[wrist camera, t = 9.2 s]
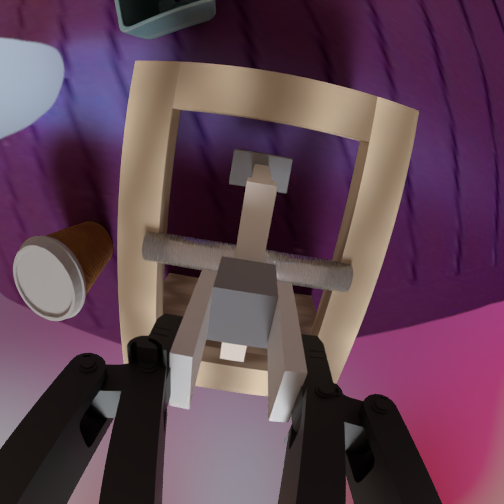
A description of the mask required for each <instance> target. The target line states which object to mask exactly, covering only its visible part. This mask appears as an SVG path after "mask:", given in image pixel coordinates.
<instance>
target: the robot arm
mask: <svg viewBox="0 0 504 504" xmlns="http://www.w3.org/2000/svg"><path fill="white" fill-rule="evenodd" d="M217 272H218V271H212V270H206V269H202V272H201V274H200V277H199V279H198V282H197V284H196V286H195V289H194V291H193V294H192V296H191V299H190V301H189V304H188V306H187V309H186V312H185V314H184V317H182V316H177V315H172V314H167V313H165V314H163V315H162V316H160V317H159V318H158V319H157V320H156V322H155V324H154V326H153V328H152V330H151V332H150V334H149V336H138V337H135V338H133V339H132V340H130V341H129V343H128V344H127V353H128V363H127V364H123V365H106V364H105V361H104V359H103V358H102V357H100V356H99V355H97V354H93V353H83V354H80V355H77V356H76V357H74V358H73V359H72V360H71V361H70V362H69V364H68V365H67V366H66V367H65V368H64V370H63V371H62V372H61V373H60V374H59V375H58V377H57V378H56V379H55V380H54V382H53V383H52V384H51V385H50V386H49V388H48V389H47V390H46V391H45V392H44V394H43V395H42V396H41V397H40V399H39V400H38V401H37V402H36V404H35V405H34V406H33V407H32V409H31V410H30V411H29V412H28V414H27V415H26V416H25V417H24V419H23V420H22V421H21V423H20V424H19V425H18V427H17V428H16V429H15V430H14V432H13V433H12V434H11V436H10V437H9V439H8V440H7V441H6V442H5V444H4V445H3V446H2V448H1V449H0V504H67V502H68V500H69V498H70V496H71V495H72V493H73V491H74V489H75V487H76V485H77V484H78V482H79V480H80V478H81V476H82V474H83V472H84V471H85V469H86V467H87V465H88V463H89V462H90V460H91V458H92V456H93V454H94V453H95V451H96V449H97V447H98V445H99V444H100V442H101V440H102V438H103V436H104V435H105V433H106V431H107V429H108V427H109V426H110V424H111V422H112V420H113V419H114V418H115V420H114V425H113V429H112V434H111V439H110V443H109V448H108V453H107V459H106V464H105V470H104V475H103V481H102V487H101V493H100V500H99V504H162V488H163V466H164V450H165V434H166V421H167V405H168V402H169V399H170V406H174V407H179V408H184V409H190V405H191V400H192V396H193V392H194V388H195V384H196V380H197V375H198V371H199V367H200V363H201V359H202V355H203V351H204V347H205V343H206V339H207V335H208V326H209V317H210V309H211V300H212V292H213V286H214V282H215V279H216V276H217ZM277 288H278V301H277V305H276V309H275V314H274V318H273V322H272V326H271V330H270V335H269V339H268V343H267V351H268V420H269V421H276V422H288V421H289V419H290V417H291V414H292V425H291V428H290V430H289V432H288V434H287V437H286V439H285V441H284V443H287V448H286V455H285V462H284V468H283V475H282V481H281V488H280V494H279V500H278V504H345V501H346V499H345V498H346V494H345V493H346V477H347V480H348V484H349V487H350V491H351V494H352V498H353V501H354V504H442V503H441V500H440V498H439V496H438V493H437V491H436V489H435V487H434V484H433V482H432V480H431V478H430V476H429V473H428V471H427V469H426V467H425V465H424V463H423V460H422V458H421V456H420V454H419V452H418V450H417V448H416V446H415V444H414V441H413V439H412V437H411V435H410V433H409V431H408V429H407V427H406V425H405V423H404V421H403V419H402V417H401V415H400V413H399V411H398V409H397V407H396V405H395V404H394V403H393V401H392V400H390V399H389V398H388V397H385V396H383V395H379V394H374V395H369V396H368V397H367V398H365V400H364V401H360V400H356V399H353V398H350V397H347V396H345V395H343V393H342V390H341V388H340V387H339V386H338V385H337V384H335V383H334V382H333V379H332V375H331V371H330V367H329V363H328V360H327V355H326V353H325V352H326V351H325V347H324V343H323V342H322V341H321V340H320V339H319V337H318V336H314V335H305V334H301V331H300V326H299V320H298V314H297V309H296V303H295V297H294V292H293V287H292V283H287V282H280V281H277Z"/></svg>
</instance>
